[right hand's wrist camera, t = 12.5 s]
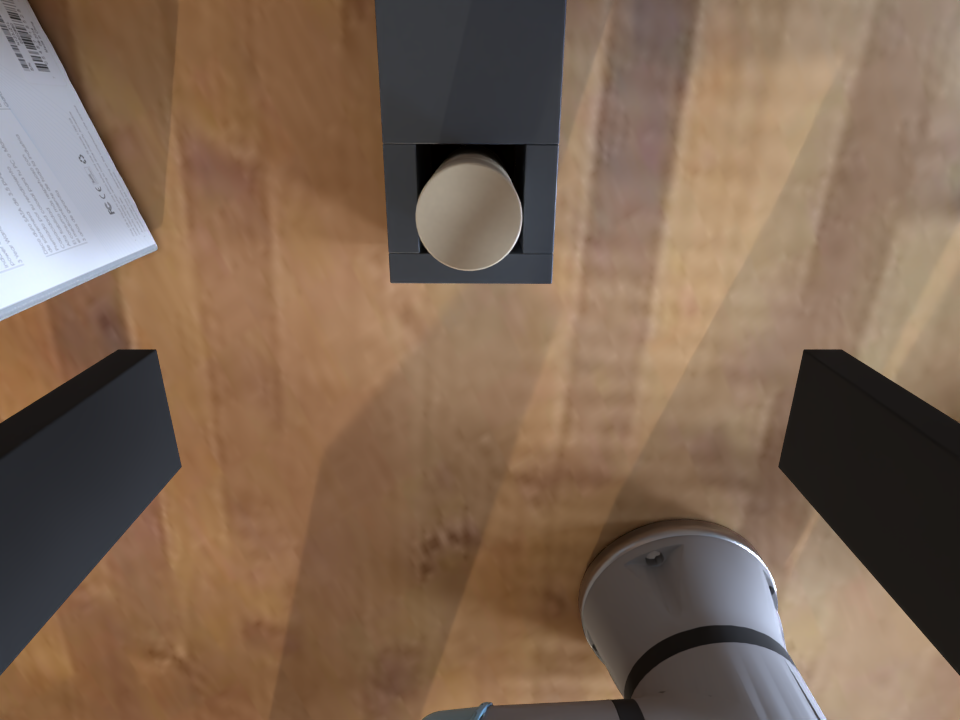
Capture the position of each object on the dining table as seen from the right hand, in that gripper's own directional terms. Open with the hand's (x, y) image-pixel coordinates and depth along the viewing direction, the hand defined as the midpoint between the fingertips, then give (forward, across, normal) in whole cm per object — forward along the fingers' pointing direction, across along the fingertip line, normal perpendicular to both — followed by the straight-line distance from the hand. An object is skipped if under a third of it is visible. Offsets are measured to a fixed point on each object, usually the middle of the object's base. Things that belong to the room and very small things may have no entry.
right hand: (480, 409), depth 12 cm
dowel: (+27, 0, -2) cm, 27 cm away
